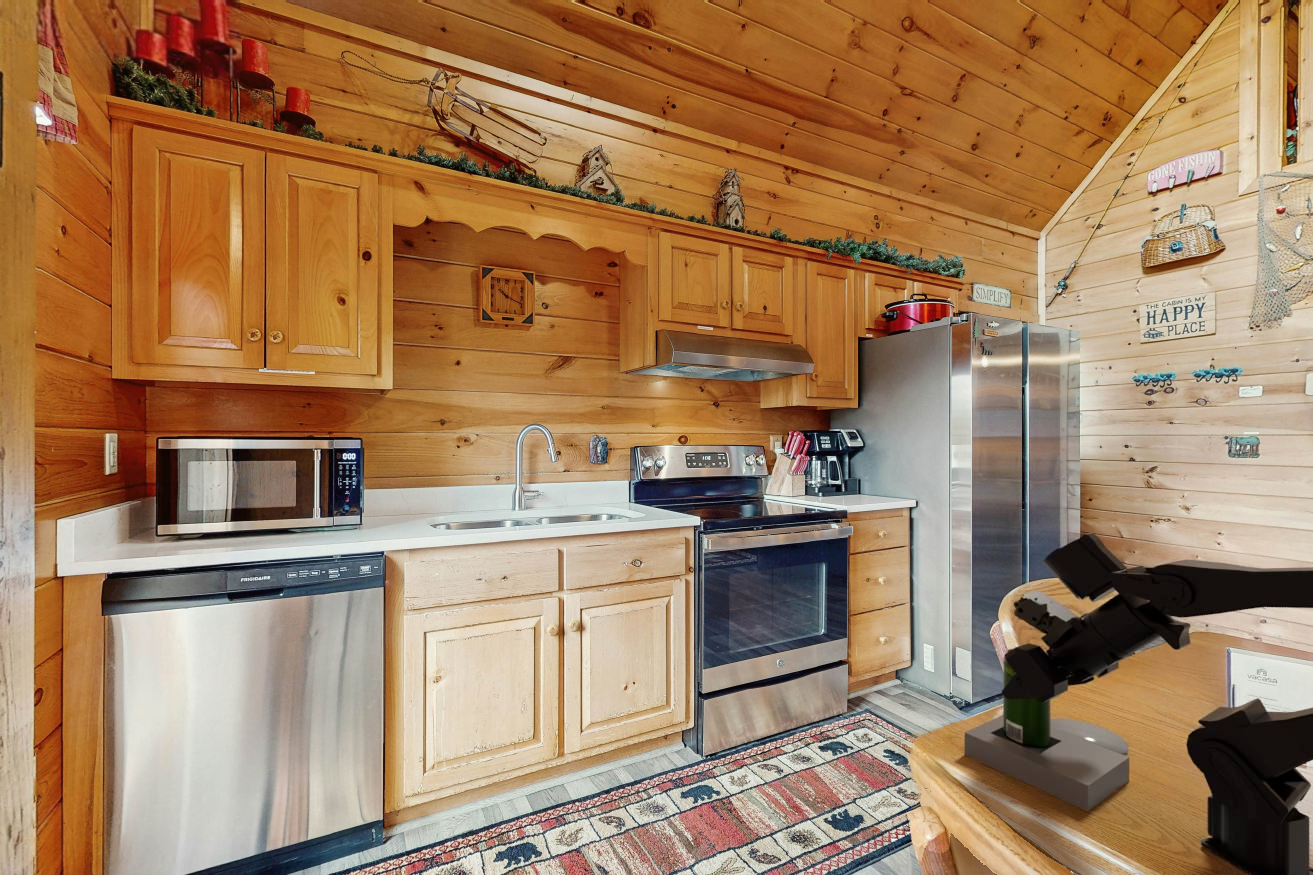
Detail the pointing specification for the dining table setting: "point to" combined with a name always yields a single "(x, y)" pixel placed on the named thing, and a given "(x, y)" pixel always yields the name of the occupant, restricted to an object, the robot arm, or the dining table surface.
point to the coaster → (1091, 734)
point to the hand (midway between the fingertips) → (1015, 690)
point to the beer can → (1025, 719)
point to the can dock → (1052, 764)
